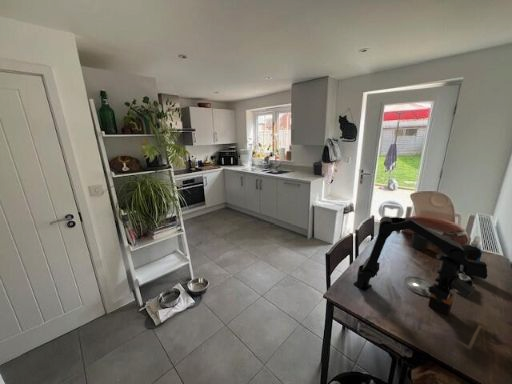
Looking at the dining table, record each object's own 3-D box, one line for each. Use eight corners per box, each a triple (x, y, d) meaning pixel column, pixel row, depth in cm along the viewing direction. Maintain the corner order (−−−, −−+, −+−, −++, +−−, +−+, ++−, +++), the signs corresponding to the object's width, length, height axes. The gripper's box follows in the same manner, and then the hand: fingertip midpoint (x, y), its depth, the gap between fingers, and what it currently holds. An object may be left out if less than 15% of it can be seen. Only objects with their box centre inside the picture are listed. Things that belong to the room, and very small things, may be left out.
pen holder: (425, 253, 136) (428, 239, 133) (408, 247, 142) (411, 234, 140) (428, 247, 142) (431, 234, 139) (411, 243, 148) (414, 230, 146)
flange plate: (432, 301, 96) (433, 299, 96) (399, 284, 108) (399, 282, 107) (442, 289, 104) (443, 287, 103) (410, 274, 115) (411, 272, 115)
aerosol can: (457, 276, 112) (466, 244, 107) (452, 268, 119) (460, 237, 114) (478, 281, 109) (488, 248, 103) (471, 272, 116) (480, 240, 110)
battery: (447, 316, 88) (451, 296, 86) (427, 306, 94) (431, 287, 91) (450, 311, 91) (454, 292, 88) (431, 302, 96) (434, 283, 94)
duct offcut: (469, 297, 99) (472, 286, 97) (452, 290, 103) (454, 280, 101) (469, 286, 105) (472, 276, 104) (453, 281, 109) (456, 271, 108)
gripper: (469, 290, 76) (458, 324, 80) (481, 272, 85) (471, 302, 90) (431, 274, 85) (424, 305, 89) (446, 259, 94) (439, 287, 99)
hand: (440, 300), depth 91 cm, fingers closed on battery, 4 cm apart
